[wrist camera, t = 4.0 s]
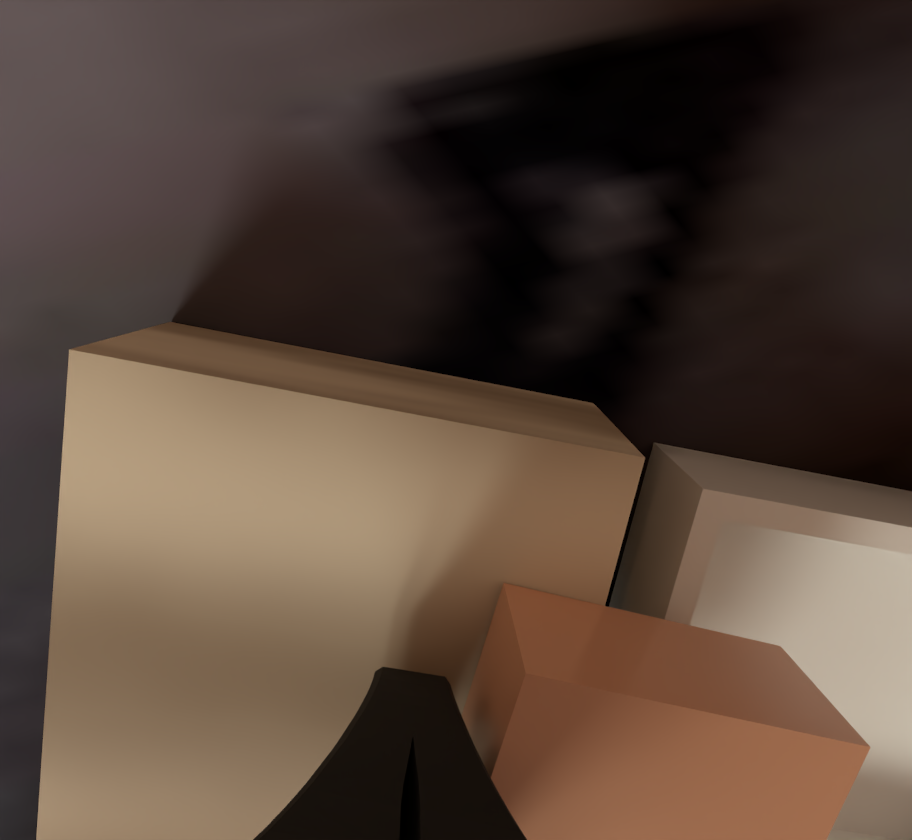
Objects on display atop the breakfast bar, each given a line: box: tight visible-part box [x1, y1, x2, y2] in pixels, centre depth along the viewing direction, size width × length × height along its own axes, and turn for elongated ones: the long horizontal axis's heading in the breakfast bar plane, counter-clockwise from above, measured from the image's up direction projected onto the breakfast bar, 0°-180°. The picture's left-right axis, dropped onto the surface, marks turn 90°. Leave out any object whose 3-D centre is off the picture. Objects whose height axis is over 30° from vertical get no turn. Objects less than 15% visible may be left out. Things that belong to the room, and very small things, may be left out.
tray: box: [609, 443, 912, 840], centre depth 15 cm, size 9×9×3 cm
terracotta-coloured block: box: [462, 583, 870, 840], centre depth 11 cm, size 5×5×2 cm
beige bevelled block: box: [36, 322, 645, 840], centre depth 14 cm, size 10×9×4 cm
